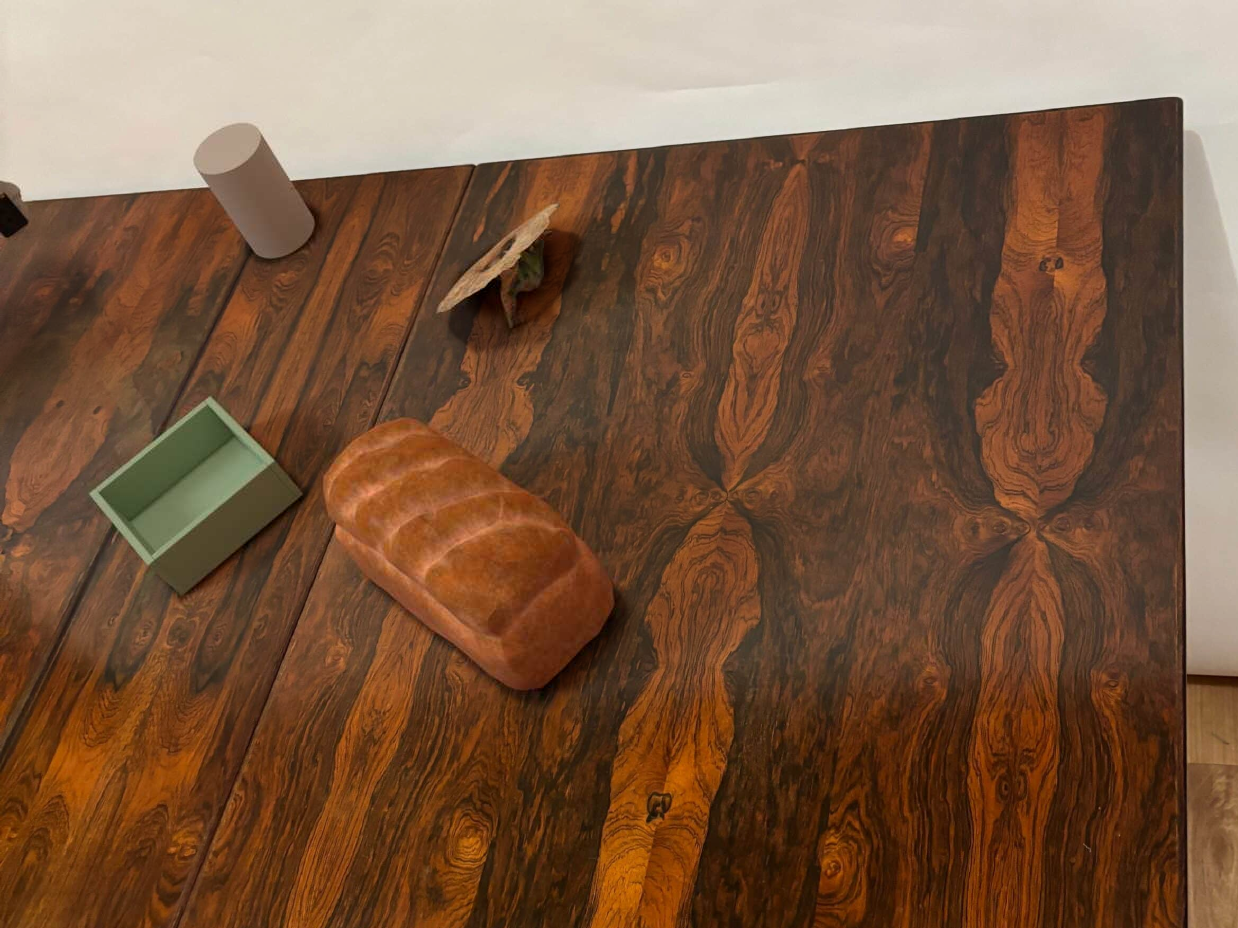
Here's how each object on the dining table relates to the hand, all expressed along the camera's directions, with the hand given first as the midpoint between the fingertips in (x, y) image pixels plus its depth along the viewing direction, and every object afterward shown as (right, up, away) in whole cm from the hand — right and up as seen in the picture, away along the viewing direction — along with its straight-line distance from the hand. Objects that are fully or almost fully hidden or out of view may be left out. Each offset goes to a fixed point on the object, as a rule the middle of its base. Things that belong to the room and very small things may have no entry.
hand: (4, 217), depth 135 cm
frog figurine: (+1, -1, +2) cm, 2 cm away
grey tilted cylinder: (+31, 0, +5) cm, 31 cm away
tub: (+30, -36, -14) cm, 48 cm away
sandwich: (+60, -11, -9) cm, 61 cm away
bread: (+60, -44, -26) cm, 79 cm away
